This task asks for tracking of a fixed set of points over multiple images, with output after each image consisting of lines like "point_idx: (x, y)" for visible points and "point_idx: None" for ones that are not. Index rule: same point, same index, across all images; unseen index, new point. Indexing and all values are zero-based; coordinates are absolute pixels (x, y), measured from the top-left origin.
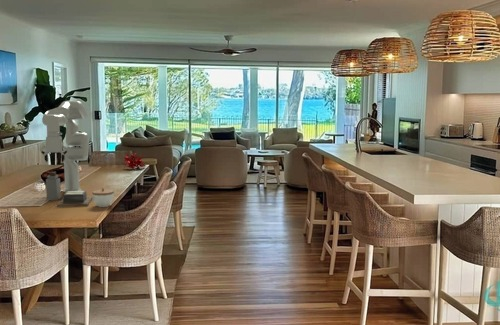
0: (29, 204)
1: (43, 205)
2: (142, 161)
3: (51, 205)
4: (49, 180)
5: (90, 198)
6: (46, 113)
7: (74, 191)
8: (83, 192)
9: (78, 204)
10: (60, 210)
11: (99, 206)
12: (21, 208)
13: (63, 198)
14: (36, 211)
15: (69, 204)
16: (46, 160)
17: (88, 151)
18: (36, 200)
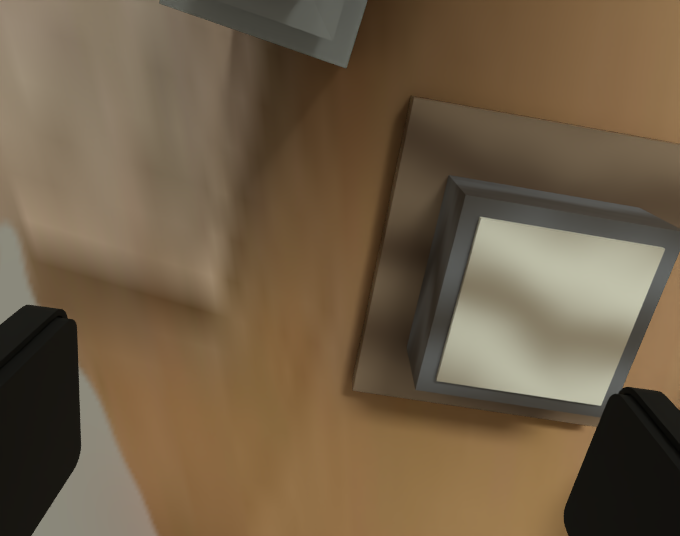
0: (98, 204)
1: (234, 287)
2: None
3: (303, 308)
4: (228, 25)
5: (676, 220)
6: None
7: (549, 256)
8: (634, 315)
9: (523, 413)
10: (378, 490)
11: None
12: None
13: (413, 370)
14: (211, 473)
15: (452, 403)
16: (47, 491)
17: None
18: (122, 7)
